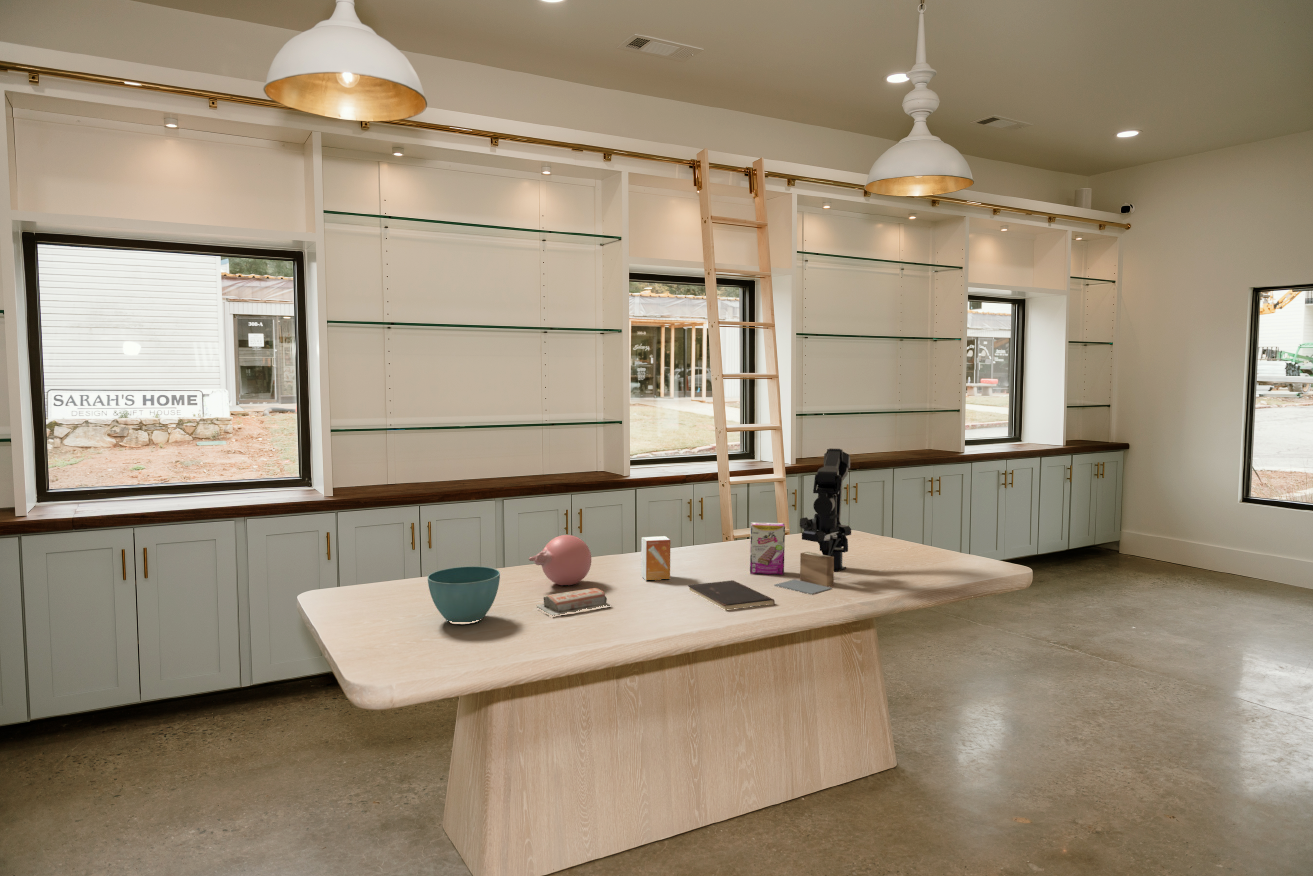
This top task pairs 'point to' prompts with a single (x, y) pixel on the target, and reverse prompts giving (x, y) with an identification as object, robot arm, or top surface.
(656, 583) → the top surface
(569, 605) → the packaged product
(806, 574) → the walnut slab
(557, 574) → the balloon
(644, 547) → the small box
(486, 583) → the teal bowl
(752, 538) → the candy bar box
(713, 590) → the hardcover book
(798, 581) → the grey rubber mat
